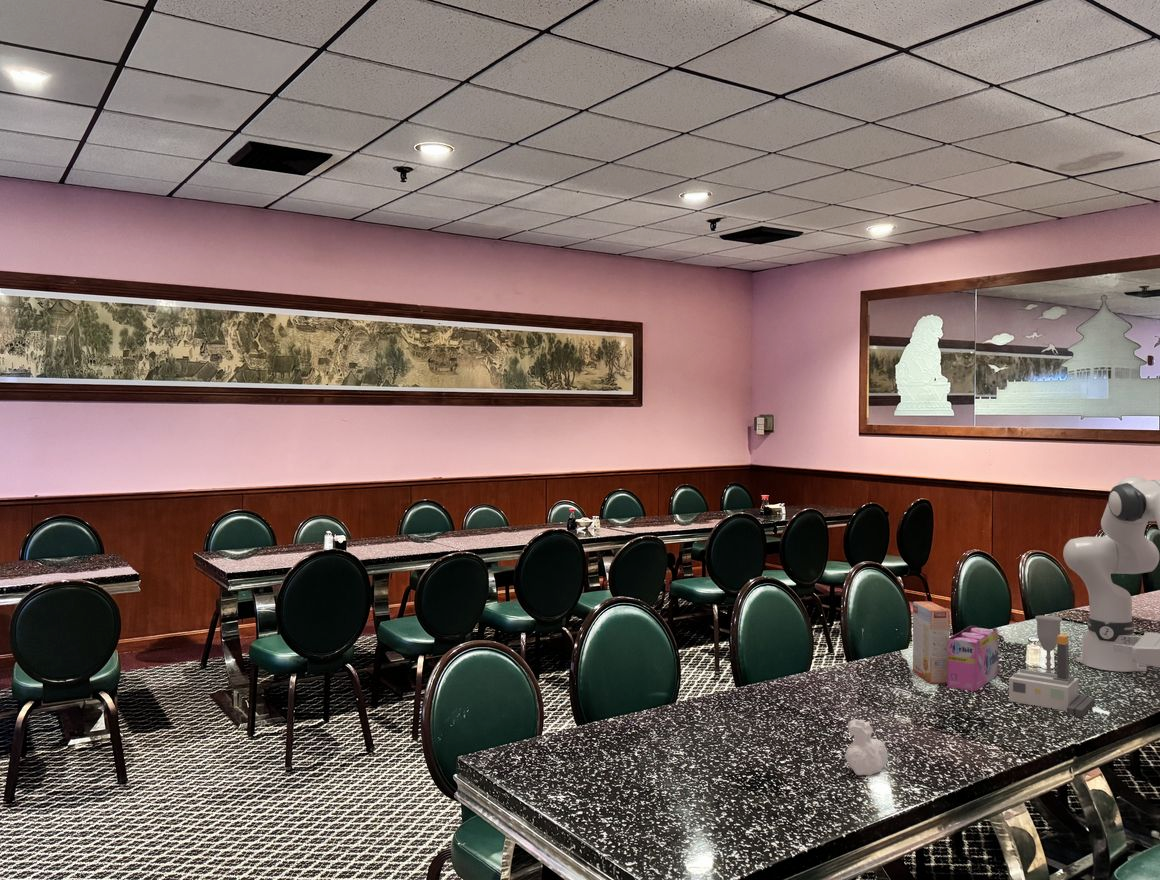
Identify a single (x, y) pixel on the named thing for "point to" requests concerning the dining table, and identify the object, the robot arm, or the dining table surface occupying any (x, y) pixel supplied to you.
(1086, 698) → the dark grey grooved bar
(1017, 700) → the box
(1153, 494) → the robot arm
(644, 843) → the dining table surface
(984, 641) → the gum box
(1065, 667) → the breaker lever
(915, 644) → the cracker box
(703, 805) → the dining table surface
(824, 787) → the dining table surface
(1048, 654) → the chalice
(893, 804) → the dining table surface
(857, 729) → the bust
